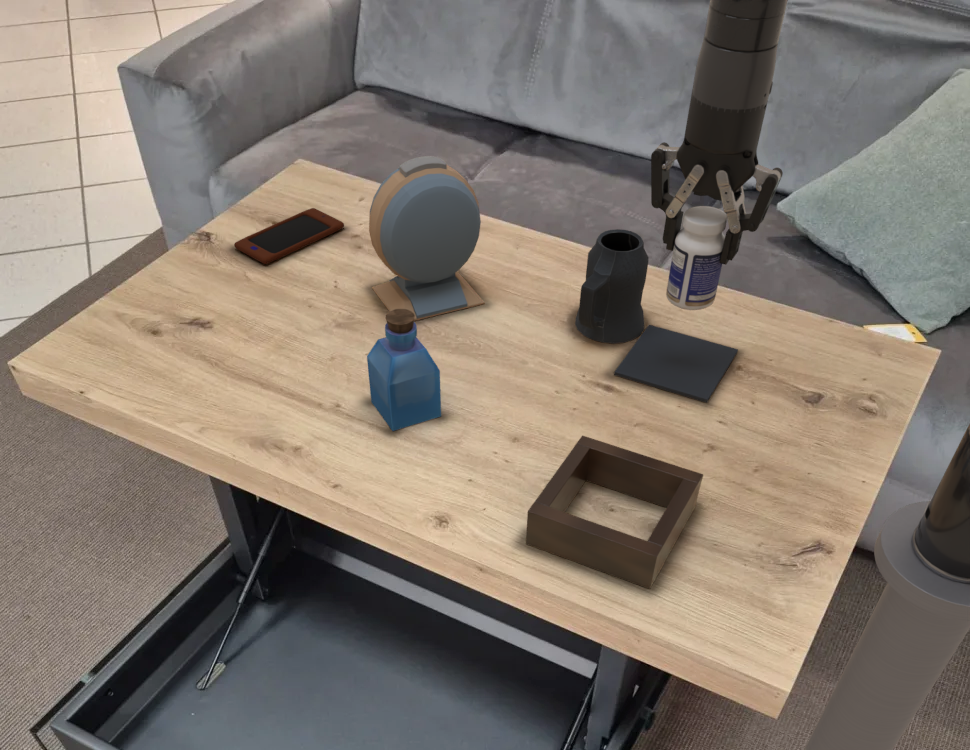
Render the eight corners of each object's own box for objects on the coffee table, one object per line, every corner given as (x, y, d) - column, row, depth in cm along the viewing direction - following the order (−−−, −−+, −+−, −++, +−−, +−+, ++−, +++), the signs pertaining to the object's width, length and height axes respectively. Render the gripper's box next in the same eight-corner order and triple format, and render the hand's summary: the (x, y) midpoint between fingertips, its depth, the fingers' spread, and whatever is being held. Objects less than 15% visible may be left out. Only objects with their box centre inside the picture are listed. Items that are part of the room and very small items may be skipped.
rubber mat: (737, 352, 119) (738, 349, 118) (707, 403, 112) (707, 399, 111) (648, 327, 122) (649, 324, 122) (613, 375, 115) (614, 371, 115)
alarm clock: (461, 268, 131) (460, 134, 117) (491, 302, 125) (494, 165, 112) (365, 290, 127) (352, 153, 113) (392, 326, 121) (382, 187, 108)
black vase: (596, 297, 126) (606, 215, 118) (656, 319, 123) (671, 236, 115) (550, 338, 120) (556, 254, 111) (612, 362, 117) (623, 277, 108)
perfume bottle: (392, 431, 107) (385, 338, 98) (371, 402, 111) (362, 309, 102) (441, 416, 109) (438, 323, 100) (418, 388, 113) (414, 296, 104)
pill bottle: (720, 293, 111) (738, 209, 103) (706, 316, 108) (724, 232, 100) (673, 282, 112) (688, 198, 105) (658, 305, 109) (672, 220, 101)
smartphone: (232, 242, 132) (312, 205, 140) (233, 248, 133) (313, 212, 140) (264, 259, 129) (345, 221, 137) (265, 266, 130) (345, 228, 137)
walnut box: (695, 506, 100) (703, 474, 96) (650, 589, 92) (657, 556, 89) (578, 468, 104) (582, 435, 100) (525, 543, 96) (527, 511, 93)
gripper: (649, 89, 93) (626, 253, 106) (791, 119, 89) (750, 285, 102) (674, 65, 97) (650, 225, 110) (812, 91, 93) (769, 255, 106)
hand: (698, 253), depth 106 cm, fingers closed on pill bottle, 5 cm apart
